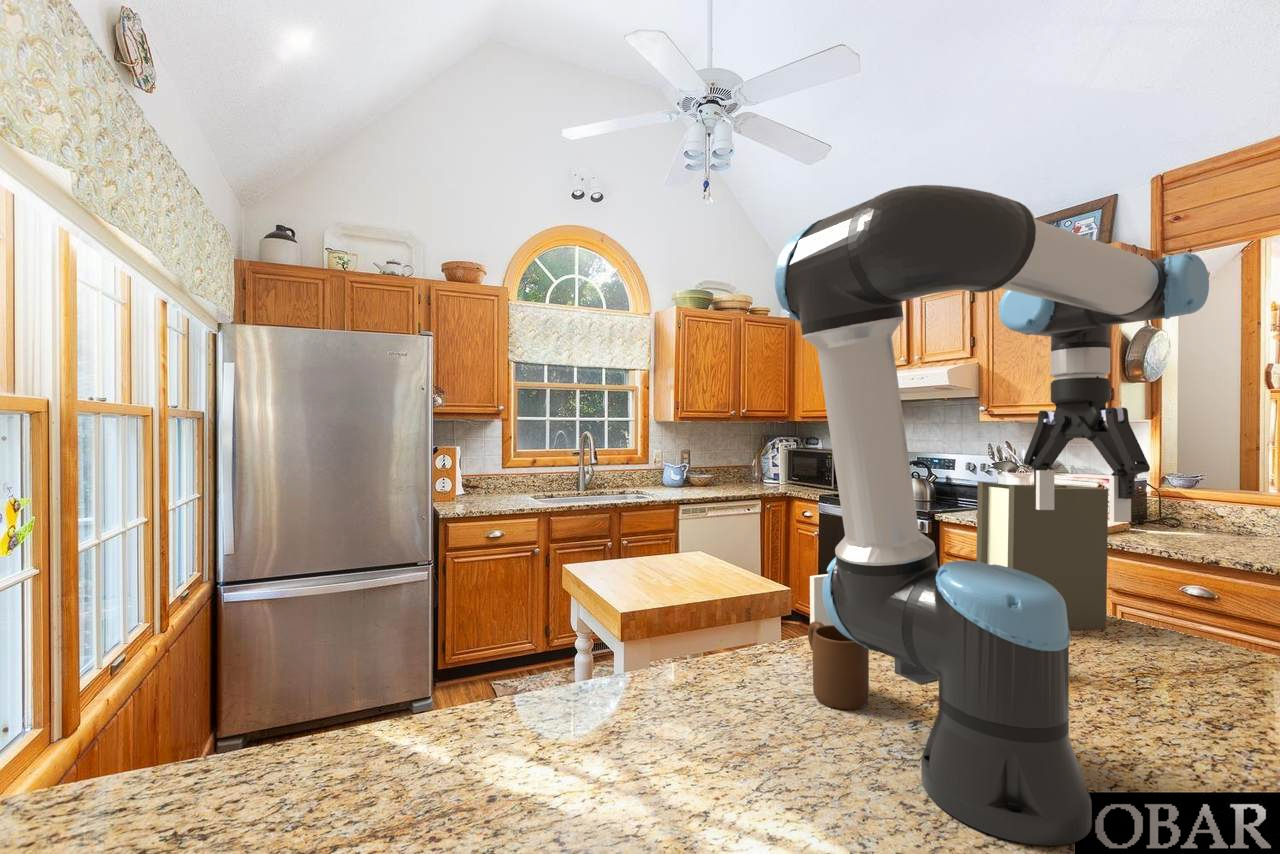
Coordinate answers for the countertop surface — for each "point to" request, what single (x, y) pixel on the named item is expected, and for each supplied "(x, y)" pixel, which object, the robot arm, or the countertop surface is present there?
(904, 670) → the bookend
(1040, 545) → the book
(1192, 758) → the countertop surface
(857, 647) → the mug
